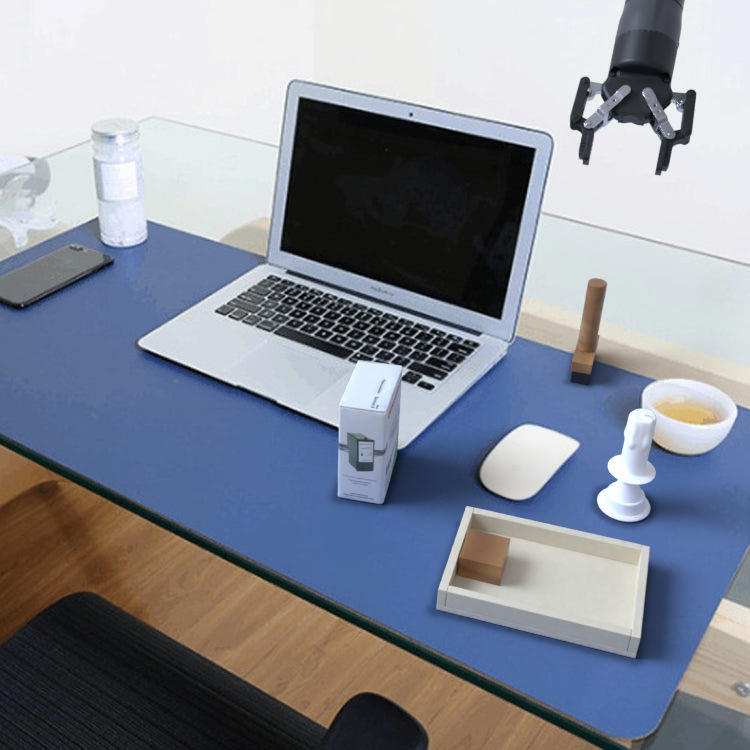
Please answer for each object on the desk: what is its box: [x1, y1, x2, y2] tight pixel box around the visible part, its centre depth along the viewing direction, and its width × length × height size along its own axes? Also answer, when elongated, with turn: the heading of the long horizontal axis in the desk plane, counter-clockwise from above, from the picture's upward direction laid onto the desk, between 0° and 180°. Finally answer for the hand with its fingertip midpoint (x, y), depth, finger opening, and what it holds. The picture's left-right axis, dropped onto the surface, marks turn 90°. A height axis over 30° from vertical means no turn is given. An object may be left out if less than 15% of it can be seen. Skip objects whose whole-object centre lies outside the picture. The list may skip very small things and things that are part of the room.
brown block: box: [457, 529, 511, 586], centre depth 93 cm, size 4×4×2 cm
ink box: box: [337, 359, 403, 505], centre depth 101 cm, size 9×5×12 cm, turn 168°
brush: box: [569, 277, 608, 386], centre depth 120 cm, size 2×7×12 cm, turn 163°
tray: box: [435, 505, 651, 659], centre depth 92 cm, size 18×12×3 cm, turn 73°
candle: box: [596, 408, 657, 523], centre depth 99 cm, size 5×5×12 cm
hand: (621, 167), depth 119 cm, fingers open, 8 cm apart
